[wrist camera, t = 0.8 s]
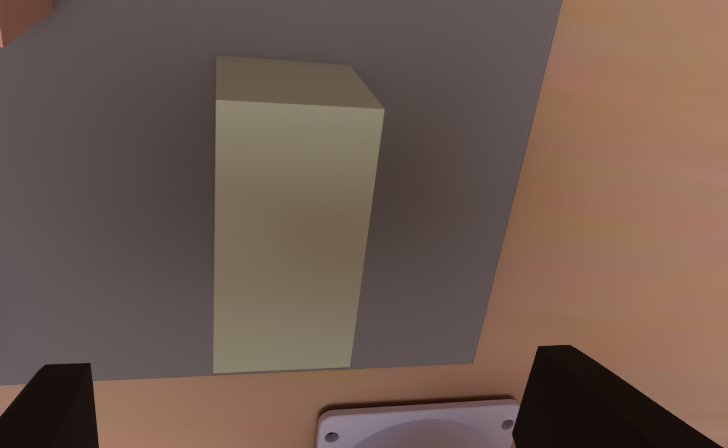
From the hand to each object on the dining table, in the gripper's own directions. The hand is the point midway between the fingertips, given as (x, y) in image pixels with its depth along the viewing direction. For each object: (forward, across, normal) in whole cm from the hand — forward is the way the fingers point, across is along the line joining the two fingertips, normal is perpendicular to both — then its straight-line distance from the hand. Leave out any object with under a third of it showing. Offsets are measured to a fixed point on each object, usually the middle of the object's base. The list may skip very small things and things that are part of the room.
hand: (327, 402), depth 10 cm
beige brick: (+9, 0, 0) cm, 9 cm away
